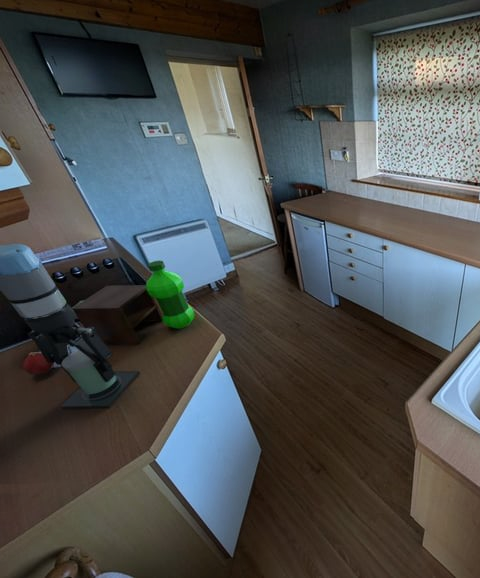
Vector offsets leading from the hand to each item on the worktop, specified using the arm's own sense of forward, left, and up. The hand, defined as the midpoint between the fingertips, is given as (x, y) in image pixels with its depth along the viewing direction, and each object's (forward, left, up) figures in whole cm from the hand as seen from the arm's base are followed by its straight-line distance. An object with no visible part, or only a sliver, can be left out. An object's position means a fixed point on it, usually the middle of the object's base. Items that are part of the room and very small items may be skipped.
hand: (95, 378), depth 80 cm
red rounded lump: (-22, +7, -5) cm, 24 cm away
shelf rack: (-10, +26, -5) cm, 28 cm away
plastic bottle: (+5, +30, -5) cm, 31 cm away
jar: (0, 0, -2) cm, 2 cm away
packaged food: (-33, +37, -5) cm, 50 cm away
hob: (0, 0, -5) cm, 5 cm away
